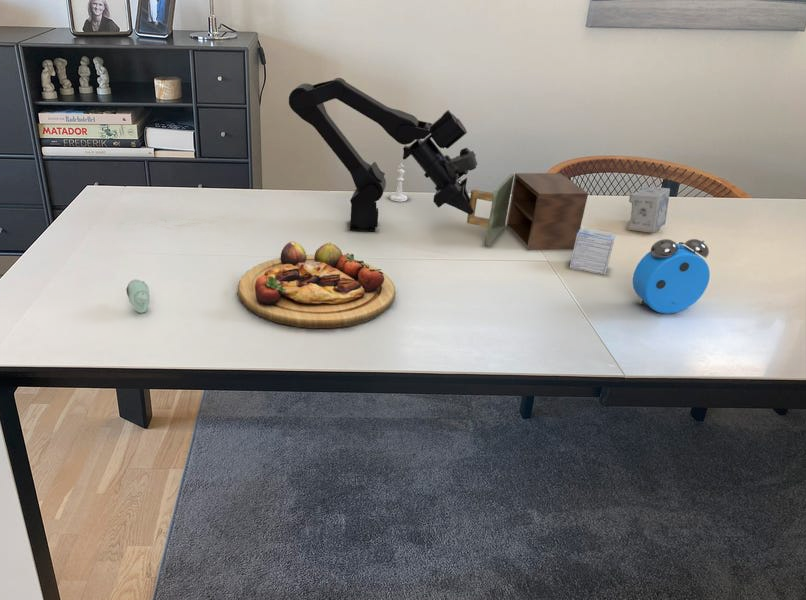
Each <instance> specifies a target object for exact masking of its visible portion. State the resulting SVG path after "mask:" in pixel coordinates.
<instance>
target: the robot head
mask: <svg viewBox="0 0 806 600" xmlns="http://www.w3.org/2000/svg"><path fill="white" fill-rule="evenodd" d="M126 295H127V298H128V301H129V304H130V305H131V307H132V308H133V309H134V310H135V311H136V312H138V313H140V314H142V313H146V311H147V310H148V308H149V305H150V289H149V286H148V284H147V283H146V282H145V280H140V279H132V280H131V281H129V282H128V284H127V286H126Z"/></svg>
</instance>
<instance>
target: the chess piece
mask: <svg viewBox="0 0 806 600" xmlns="http://www.w3.org/2000/svg"><path fill="white" fill-rule="evenodd" d="M398 168H400V169H397V175H398V177H396V181H398V182H397V187H396V191H395V192H394V193H392V194H390V196H389V200H391V201H393V202H399V203H400V202H406V201H408V196H407V195H406V194H404V192H403V181H405V178H404V177H403V176H404V174H405V172H406V171H405V169H404V168H406V167H405V165H403V162H401V163H400V165H399V164H398Z"/></svg>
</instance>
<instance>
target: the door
mask: <svg viewBox="0 0 806 600" xmlns="http://www.w3.org/2000/svg"><path fill="white" fill-rule="evenodd" d="M514 178H515V173H510V174H509V175H508V176H507V177H506V178H505V179H504V180H503V181H502V182H501V183H500V184H499V185H498V186H497V187H496V188H495V189H494V190H493V192H489V191H484V190H478V189H471V190H470V195H469V197H470V203H469V204H470V205H471V207H472V209H473V211H474V213H472V214H471V215H469V214H467V219H466V223H467V224H469V225H472V226H479V227H483V228H487V233H486V237H485V244H484V246H485V247H490V245H491V244H492V243H493V241H494V240H495V239H496V238H497V237H498V236H499V234H500V233H501V232H502V231H503V230H504V228H506V224H507V218H508V212H509V207H510V201H511V195H512V189H513V183H514ZM477 200H482V201H487V202H491V207H490V213H489V218H486V217H481V216H476V209H477V207H476V206H477V202H478V201H477Z"/></svg>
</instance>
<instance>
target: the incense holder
mask: <svg viewBox="0 0 806 600" xmlns="http://www.w3.org/2000/svg"><path fill="white" fill-rule="evenodd" d="M670 192H671V189H670V187H657V186H655V187H654V186H653V187H652V186H641V187H640V190H639V191H637V192H631V193H629V197H628V198H629V199H628V202H629V203H631V212H630V219H629V220H628V222H627V230H628V231H637V232H644V233H655V232H657V233H658V231H659V230H660V228H661V227H663V226H664V225H665V224H666V221H667V216H668V215H667V214H668V207H669V201H670V194H671V193H670Z"/></svg>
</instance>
